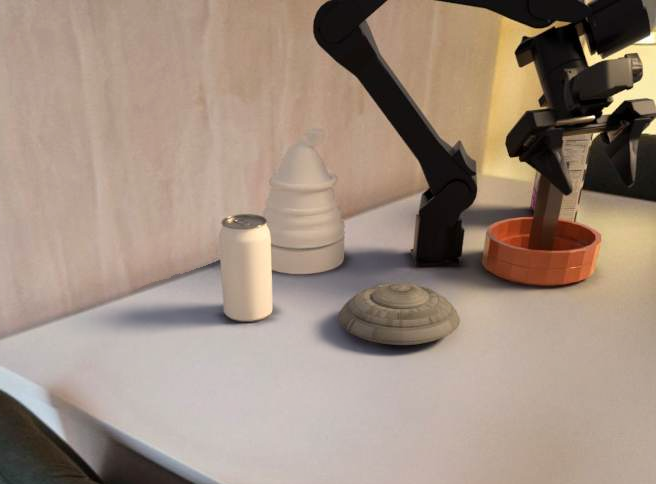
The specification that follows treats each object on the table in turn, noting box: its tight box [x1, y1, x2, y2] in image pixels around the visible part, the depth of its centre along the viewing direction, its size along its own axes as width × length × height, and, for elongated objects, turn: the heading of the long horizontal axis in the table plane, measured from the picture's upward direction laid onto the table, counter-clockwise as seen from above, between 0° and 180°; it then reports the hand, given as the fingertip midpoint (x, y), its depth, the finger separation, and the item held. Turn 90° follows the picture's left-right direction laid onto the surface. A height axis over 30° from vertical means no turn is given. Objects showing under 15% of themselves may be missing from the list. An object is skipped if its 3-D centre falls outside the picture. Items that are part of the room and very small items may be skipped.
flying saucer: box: [338, 282, 461, 346], centre depth 95 cm, size 15×15×6 cm
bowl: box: [481, 216, 602, 287], centre depth 110 cm, size 16×16×5 cm
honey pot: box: [262, 128, 346, 275], centre depth 111 cm, size 13×13×18 cm
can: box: [218, 213, 273, 323], centre depth 98 cm, size 6×6×12 cm
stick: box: [527, 161, 570, 251], centre depth 107 cm, size 4×4×14 cm
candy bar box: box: [529, 106, 594, 222], centre depth 124 cm, size 11×5×16 cm, turn 179°
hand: (600, 189), depth 95 cm, fingers open, 9 cm apart
